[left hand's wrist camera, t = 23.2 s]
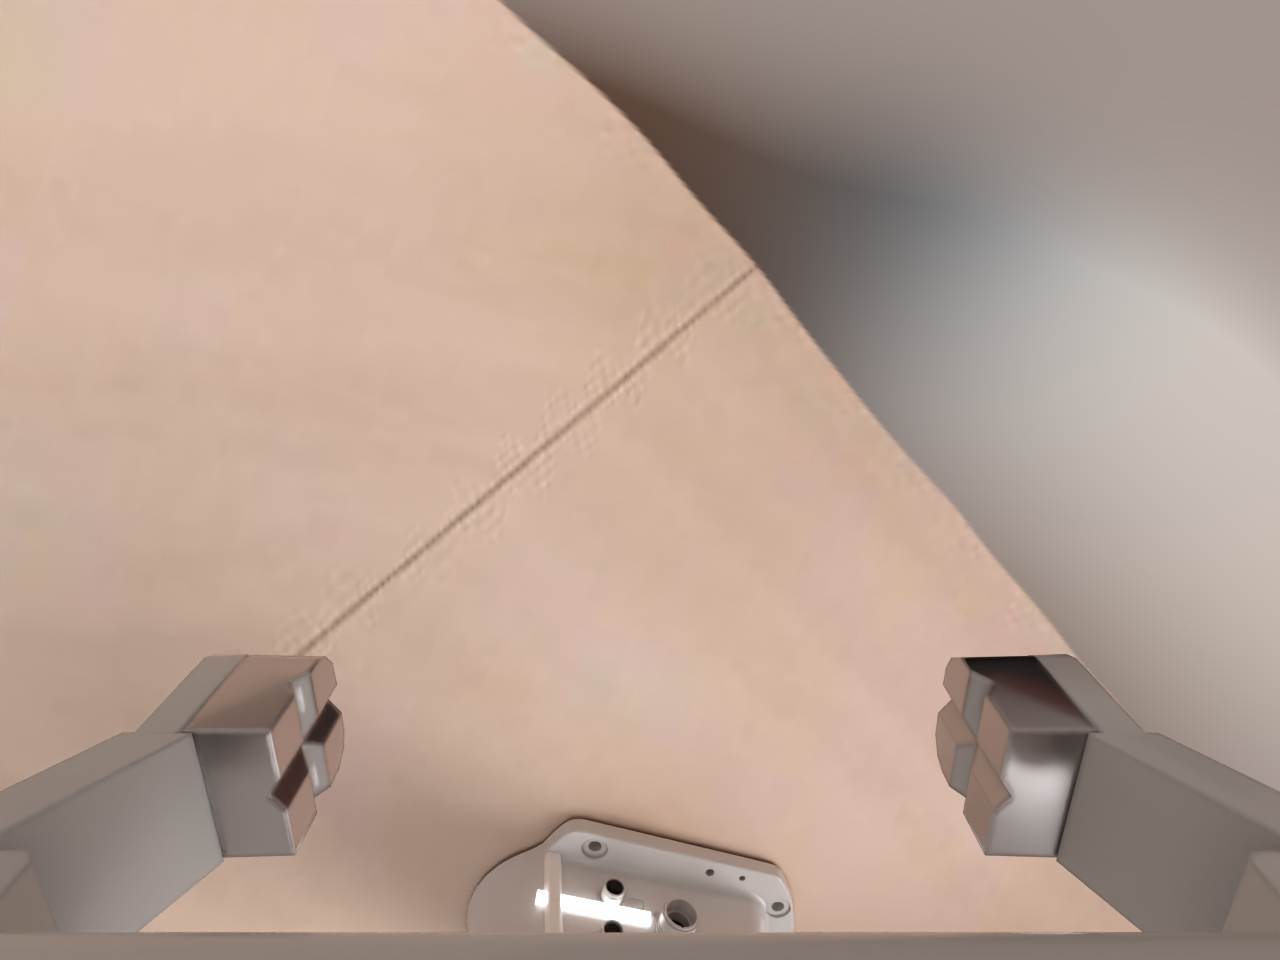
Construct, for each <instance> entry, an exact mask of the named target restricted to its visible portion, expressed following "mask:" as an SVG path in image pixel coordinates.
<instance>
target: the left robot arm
mask: <svg viewBox="0 0 1280 960" xmlns="http://www.w3.org/2000/svg"><path fill="white" fill-rule="evenodd" d="M336 685H337V682H336V677H335V672H334V667H333V663H332V662H331V661H330V660H329V659H328V658H327V657H326V656H281V655H251V656H249V655H213V656H209V657H205V658H204V659H203V660H202V661H201V662H200V663H199V664H198V665H197V666H196V667H195V668H194V669H193V671H192V672H191V673H190V674H189V675H188V676H187V677H186V678H185V679H184V680H183V681H182V682H181V683H180V685H179V686H178V687H177V688H176V689H175V690H174V691H173V692H172V693H171V694H170V695H169V696H168V697H167V699H166V700H165V701H164V702H163V703H162V704H161V705H160V706H159V707H158V708H157V709H156V710H155V711H154V713H153V714H152V715H151V716H150V717H149V718H148V719H147V720H146V721H145V722H144V723H143V724H142V725H141V727H140V728H139V729H138V730H137V731H136V732H135V733H121V734H119V735H116V736H114V737H112V738H110V739H108V740H106V741H104V742H102V743H100V744H98V745H96V746H94V747H92V748H90V749H88V750H85V751H83V752H81V753H79V754H77V755H75V756H73V757H71V758H69V759H67V760H65V761H63V762H61V763H59V764H56V765H54V766H52V767H50V768H48V769H46V770H44V771H42V772H40V773H38V774H36V775H34V776H32V777H30V778H27V779H25V780H23V781H21V782H19V783H17V784H15V785H13V786H11V787H9V788H7V789H5V790H3V791H1V792H0V960H1280V792H1279V791H1277V790H1275V789H1273V788H1271V787H1269V786H1267V785H1265V784H1262V783H1261V782H1258V781H1256V780H1254V779H1252V778H1250V777H1248V776H1246V775H1244V774H1242V773H1240V772H1238V771H1236V770H1234V769H1232V768H1230V767H1227V766H1225V765H1223V764H1221V763H1219V762H1217V761H1215V760H1213V759H1211V758H1209V757H1207V756H1205V755H1203V754H1201V753H1198V752H1197V751H1194V750H1192V749H1190V748H1188V747H1186V746H1184V745H1182V744H1180V743H1178V742H1176V741H1174V740H1172V739H1170V738H1168V737H1166V736H1164V735H1161V734H1159V733H1145V732H1144V731H1143V730H1142V729H1141V728H1140V726H1139V725H1138V724H1137V723H1136V722H1135V721H1134V720H1133V719H1132V718H1131V717H1130V716H1129V715H1128V714H1127V712H1126V711H1125V710H1124V709H1123V708H1122V707H1121V706H1120V705H1119V704H1118V703H1117V702H1116V701H1115V700H1114V698H1113V697H1112V696H1111V695H1110V694H1109V693H1108V692H1107V691H1106V690H1105V689H1104V688H1103V687H1102V686H1101V684H1100V683H1099V682H1098V681H1097V680H1096V679H1095V678H1094V677H1093V676H1092V675H1091V674H1090V673H1089V672H1088V670H1087V669H1086V668H1085V667H1084V666H1083V665H1082V664H1081V663H1080V662H1079V661H1078V660H1077V659H1076V658H1074V657H1072V656H1069V655H1067V654H1057V655H1028V656H1007V657H955V658H951V659H950V661H949V663H948V665H947V667H946V670H945V676H944V681H943V685H944V687H945V689H946V690H947V692H948V694H949V695H950V697H951V700H950V701H949V702H948V703H947V704H946V705H945V706H944V707H943V708H942V709H941V710H940V712H939V713H938V718H937V726H936V734H935V735H936V746H937V756H938V759H939V763H940V766H941V770H942V772H943V774H944V776H945V778H946V780H947V783H948V785H949V786H950V787H951V788H953V789H954V790H955V791H957V792H958V793H960V794H961V795H963V796H964V797H965V798H966V799H965V805H964V810H963V814H964V816H965V818H966V820H967V822H968V823H969V825H970V827H971V829H972V831H973V833H974V835H975V837H976V839H977V841H978V843H979V844H980V846H981V848H982V850H983V852H984V854H985V855H990V856H1025V857H1057V859H1056V861H1057V862H1058V863H1060V864H1061V865H1062V866H1063V867H1065V868H1066V869H1067V870H1068V871H1069V872H1071V873H1072V874H1073V875H1074V876H1075V877H1077V878H1078V879H1079V880H1080V881H1081V882H1083V883H1084V884H1085V885H1086V886H1088V887H1089V888H1090V889H1091V890H1092V891H1094V892H1095V893H1096V894H1097V895H1098V896H1100V897H1101V898H1102V899H1103V900H1105V901H1106V902H1107V903H1108V904H1109V905H1111V906H1112V907H1113V908H1114V909H1115V910H1117V911H1118V912H1119V913H1120V914H1121V915H1123V916H1124V917H1125V918H1126V919H1128V920H1129V921H1130V922H1131V923H1132V924H1134V925H1135V926H1136V927H1137V928H1138V929H1140V930H1141V931H1142V932H1116V933H991V932H793V929H794V913H793V901H792V895H791V890H790V888H789V885H788V882H787V880H786V878H785V876H784V874H783V873H782V871H781V870H780V868H779V867H777V866H775V865H772V864H769V863H766V862H762V861H758V860H754V859H750V858H745V857H741V856H737V855H733V854H728V853H724V852H720V851H716V850H712V849H707V848H703V847H699V846H695V845H691V844H686V843H682V842H678V841H674V840H670V839H665V838H661V837H657V836H653V835H649V834H644V833H640V832H636V831H632V830H627V829H623V828H619V827H615V826H611V825H606V824H602V823H598V822H594V821H590V820H585V819H573V820H570V821H567V822H566V823H564V824H563V825H561V826H560V827H559V828H558V829H556V830H555V831H554V832H553V833H552V834H551V835H550V836H549V837H548V838H547V839H546V840H545V841H544V842H543V843H542V844H540V845H539V846H537V847H535V848H533V849H531V850H528V851H526V852H523V853H521V854H519V855H516V856H514V857H512V858H510V859H508V860H506V861H505V862H503V863H501V864H500V865H498V866H497V867H496V868H494V869H493V870H492V871H491V872H490V873H488V874H487V875H486V876H485V877H484V879H483V880H482V881H481V882H480V883H479V885H478V886H477V888H476V889H475V891H474V893H473V895H472V897H471V900H470V902H469V906H468V911H467V929H468V933H195V932H138V931H139V930H141V929H142V928H143V927H144V926H145V925H147V924H148V923H149V922H150V921H151V920H153V919H154V918H155V917H156V916H158V915H159V914H160V913H161V912H162V911H164V910H165V909H166V908H167V907H168V906H170V905H171V904H172V903H173V902H175V901H176V900H177V899H178V898H179V897H181V896H182V895H183V894H184V893H185V892H187V891H188V890H189V889H190V888H192V887H193V886H194V885H195V884H196V883H198V882H199V881H200V880H201V879H202V878H204V877H205V876H206V875H207V874H209V873H210V872H211V871H212V870H213V869H215V868H216V867H217V866H218V865H219V864H221V863H222V862H223V857H253V856H288V855H295V854H296V852H297V850H298V848H299V847H300V845H301V843H302V841H303V839H304V837H305V835H306V833H307V831H308V829H309V827H310V825H311V823H312V822H313V820H314V818H315V816H316V814H317V810H316V805H315V799H314V798H315V797H316V796H317V795H319V794H320V793H322V792H323V791H325V790H326V789H327V788H329V787H330V786H331V785H332V782H333V780H334V778H335V776H336V774H337V772H338V770H339V767H340V762H341V758H342V753H343V749H344V724H343V717H342V713H341V711H340V710H339V709H338V708H337V707H336V706H335V705H334V704H333V703H332V702H331V701H330V700H329V697H330V696H331V694H332V692H333V690H334V689H335V687H336ZM593 841H597V842H593Z"/></svg>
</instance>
